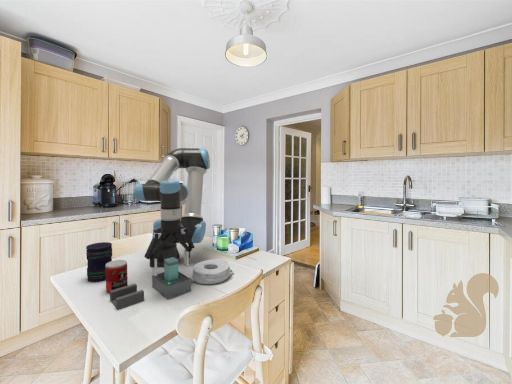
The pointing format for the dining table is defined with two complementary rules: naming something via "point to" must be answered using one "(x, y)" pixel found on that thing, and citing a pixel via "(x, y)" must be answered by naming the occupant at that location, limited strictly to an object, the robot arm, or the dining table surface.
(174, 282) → the grey socket block
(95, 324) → the dining table surface
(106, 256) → the storage jar
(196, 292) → the dining table surface
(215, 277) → the cable
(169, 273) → the plug
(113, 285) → the canned food
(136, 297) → the grey slotted cradle
